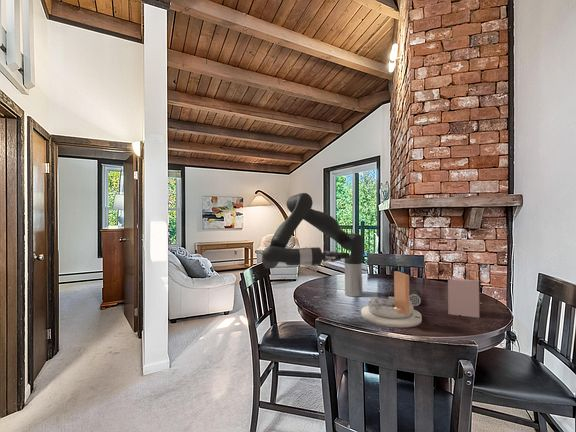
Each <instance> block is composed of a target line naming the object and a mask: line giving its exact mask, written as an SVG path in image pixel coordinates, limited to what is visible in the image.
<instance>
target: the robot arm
mask: <svg viewBox="0 0 576 432" xmlns="http://www.w3.org/2000/svg"><path fill="white" fill-rule="evenodd" d="M286 207H287V210H288V211H289V212H290V215H289V216H287V218H286V219H285V220H284V221H283V222H281V224H280V225H278V228H277V229H276V231H275V233H274V234H273V236H272V237H271V240H270V244H269V246H268V247H266V248H264V250H263V251H262V252H261V255H262V257H261V263H262V265H263V267H264V268H265V269H274V268H275V267H277V266H278V264H279V263H285V265H286V266H303V267H306V266H308V267H309V266H321V265H322V263H323V261H325V262H335V261H341V260H342V259H343V260H344V295H345V296H349V297H361V296H362V295H363V294H364V293H363V257H364V239H363V236H362V235H361V234H359V233H348V232H346V231H344V230H343V229H341V228H340V223H339V222H338V221H337V220H336V218H334V217H332V216H331V215H330V214H329V213H326V212H323V211H320V210H316V209H313V198H312V196H311V195H310V194H309V193H306V192H302V193H301V192H300V193H298V194H294V195H292V196H290V197H288V198H287V200H286ZM302 221H306V222H307V223H308V224H309V225H311V226H312V227H315V228H316V229H317V230H318V231H320V232H321V233H323V234H324V235H326V236H327V237H329V238H331V239H332V240H334V241H335V242H336V243H337V244H338V245H339V246H340V247H341V248H342V249H344V250H346V251H350V253H349V252H339V251H332V250H331V251H328V250H323V252H322V249H321V247H301V248H286V247H287V246H288V244H289V242H290V241H291V238H292V236H293V235H294V233H295V231H296V229H297V228H298V227H299V225H300V224H301V223H302Z"/></svg>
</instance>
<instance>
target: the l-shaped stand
mask: <svg viewBox="0 0 576 432" xmlns="http://www.w3.org/2000/svg"><path fill="white" fill-rule="evenodd" d="M393 281H394V282H393V285H394V286H393V287H394V288H393V289H394V291H393V292H394V293H393V295H394V296H388V298H378V297H374V296H373V297H371V298H370V300H369V301H368V302H367V304H368V305H367V306H368V310H369V312H370V313H371V314H373V315H376V316H379V317H383V318H389V319H405V318H410V317H412V316H413V315H414V310H415V309H414V307H415V306H413V305H412V302H411V301H409V292H410V274H406V273H404V272H402V271H398V270H397V271H396V270H394V271H393Z"/></svg>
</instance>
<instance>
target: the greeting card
mask: <svg viewBox="0 0 576 432" xmlns="http://www.w3.org/2000/svg"><path fill="white" fill-rule="evenodd" d="M447 296H448V297H447V298H448V299H447V301H448V303H447V306H448V307H447V308H448V309H447V310H448V312H447V313H448V315H450V314H451V315H453V316H459V315H461V316H462V317H468V318H470V317H471V318H477V319H478V318H480V281H477V280H471V279H465V278H460V277H455V276H454V277H453V276H451V279H447Z"/></svg>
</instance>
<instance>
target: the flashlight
mask: <svg viewBox="0 0 576 432" xmlns="http://www.w3.org/2000/svg"><path fill="white" fill-rule="evenodd" d="M409 301H411V302H412V305H413V307H416V306H419V305H420V304H421V301H422V300H421V291H420V290H419V289H417V288H411V289H409Z"/></svg>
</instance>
